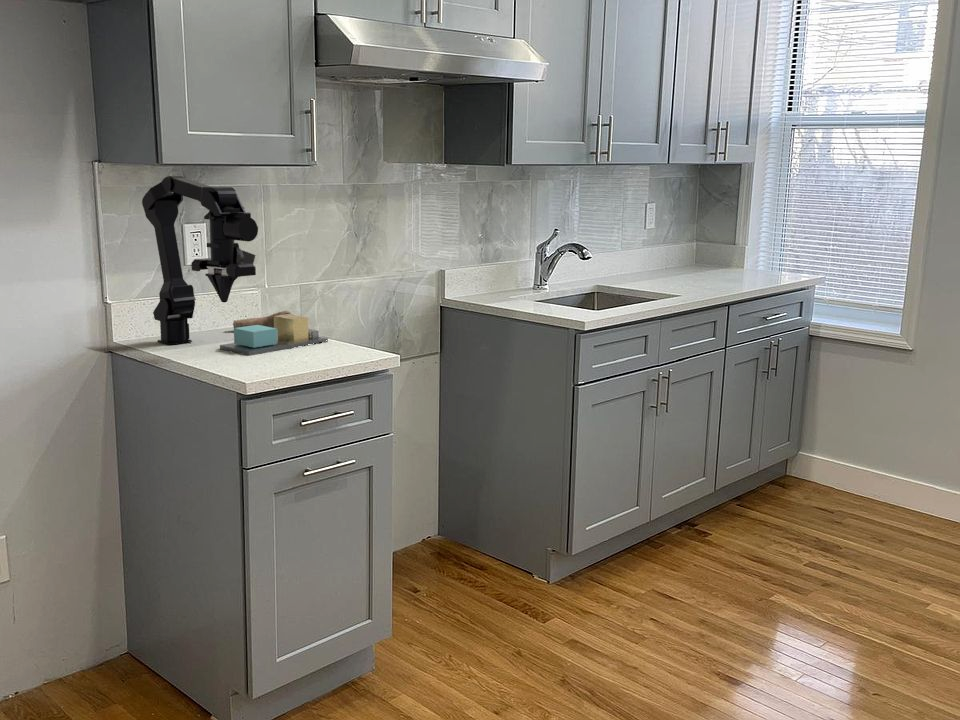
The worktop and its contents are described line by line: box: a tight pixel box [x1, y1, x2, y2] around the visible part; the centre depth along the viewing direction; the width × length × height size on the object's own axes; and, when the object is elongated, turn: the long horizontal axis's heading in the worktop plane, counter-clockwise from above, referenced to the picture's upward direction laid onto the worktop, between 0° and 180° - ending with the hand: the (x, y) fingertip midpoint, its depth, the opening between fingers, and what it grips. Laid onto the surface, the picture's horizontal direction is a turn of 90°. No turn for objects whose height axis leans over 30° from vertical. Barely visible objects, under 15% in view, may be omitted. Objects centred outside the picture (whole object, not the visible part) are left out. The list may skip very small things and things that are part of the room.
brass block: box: [274, 313, 309, 342], centre depth 252 cm, size 8×5×6 cm, turn 51°
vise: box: [219, 328, 329, 356], centre depth 248 cm, size 26×12×3 cm, turn 141°
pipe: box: [232, 310, 293, 329], centre depth 268 cm, size 6×17×10 cm
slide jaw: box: [233, 325, 278, 348], centre depth 243 cm, size 8×8×4 cm
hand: (224, 302), depth 234 cm, fingers closed
